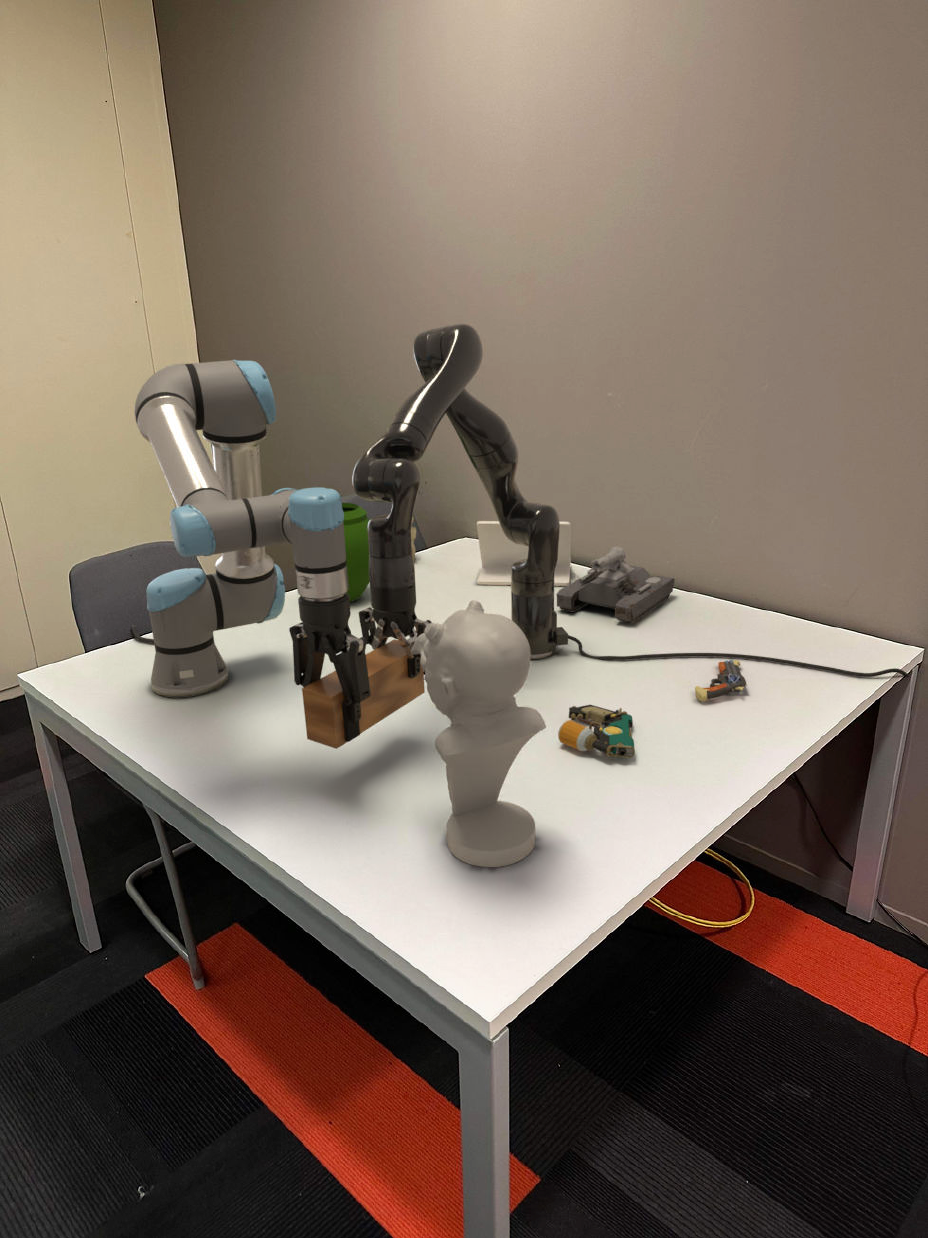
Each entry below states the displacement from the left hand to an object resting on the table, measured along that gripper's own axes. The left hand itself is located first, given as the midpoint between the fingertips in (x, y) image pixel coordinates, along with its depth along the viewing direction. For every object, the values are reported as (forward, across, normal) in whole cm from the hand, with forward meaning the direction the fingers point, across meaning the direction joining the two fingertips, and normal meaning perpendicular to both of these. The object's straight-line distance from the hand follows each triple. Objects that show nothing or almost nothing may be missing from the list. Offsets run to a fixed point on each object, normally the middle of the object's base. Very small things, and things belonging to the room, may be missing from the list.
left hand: (335, 732), depth 135 cm
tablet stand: (+10, -29, +111) cm, 115 cm away
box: (+1, 0, +8) cm, 8 cm away
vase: (+10, -60, +70) cm, 93 cm away
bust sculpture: (+10, +25, 0) cm, 27 cm away
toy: (+10, +3, +100) cm, 101 cm away
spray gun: (+10, +29, +36) cm, 47 cm away
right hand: (-4, 0, +16) cm, 17 cm away
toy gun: (+10, +40, +68) cm, 79 cm away
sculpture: (+10, -67, +107) cm, 126 cm away
